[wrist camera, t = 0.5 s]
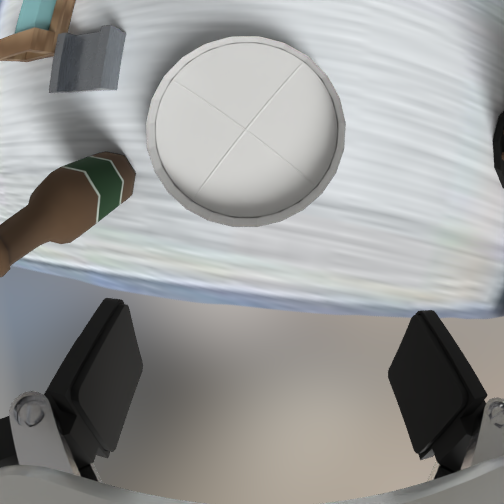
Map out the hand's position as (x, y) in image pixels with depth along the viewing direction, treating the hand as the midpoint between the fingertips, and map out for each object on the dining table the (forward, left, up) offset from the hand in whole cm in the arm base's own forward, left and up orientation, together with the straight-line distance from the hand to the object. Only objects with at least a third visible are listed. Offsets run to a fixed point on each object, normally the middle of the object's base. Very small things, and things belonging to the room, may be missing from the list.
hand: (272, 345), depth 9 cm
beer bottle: (+4, -20, -30) cm, 36 cm away
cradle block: (-12, -24, -30) cm, 40 cm away
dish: (-4, -3, -31) cm, 31 cm away
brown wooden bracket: (-21, -34, -30) cm, 50 cm away
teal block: (-22, -34, -26) cm, 48 cm away
